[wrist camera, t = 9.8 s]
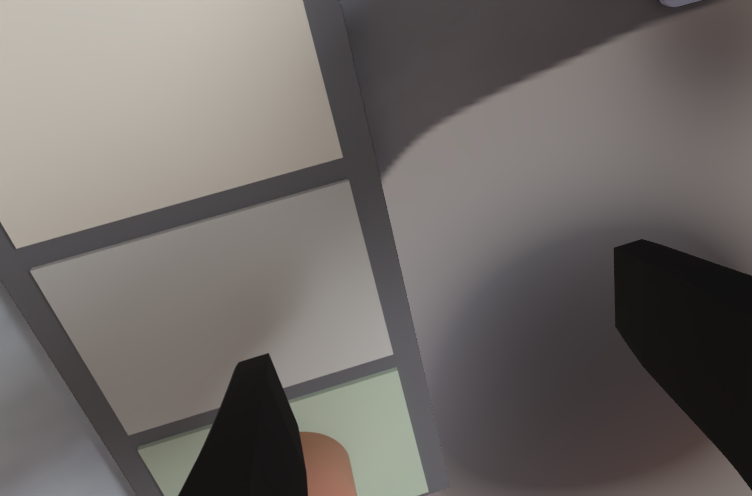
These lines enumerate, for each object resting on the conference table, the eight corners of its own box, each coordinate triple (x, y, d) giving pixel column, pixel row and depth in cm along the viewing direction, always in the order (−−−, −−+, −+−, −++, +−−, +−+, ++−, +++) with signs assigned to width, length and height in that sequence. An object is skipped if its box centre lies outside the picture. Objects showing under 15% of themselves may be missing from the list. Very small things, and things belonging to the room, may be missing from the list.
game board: (178, -680, 11) (173, -740, 10) (443, 469, 28) (451, 490, 27) (-498, -564, 11) (-578, -618, 9) (188, 552, 27) (186, 577, 26)
